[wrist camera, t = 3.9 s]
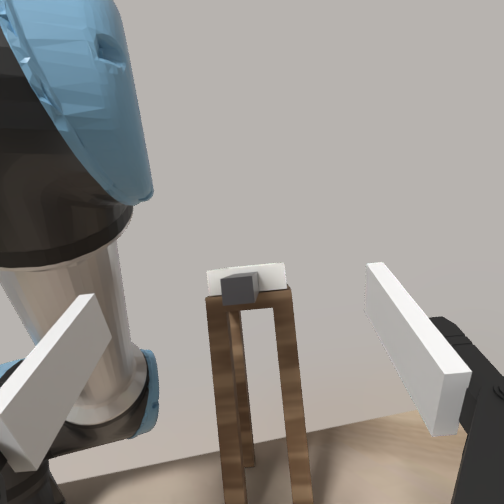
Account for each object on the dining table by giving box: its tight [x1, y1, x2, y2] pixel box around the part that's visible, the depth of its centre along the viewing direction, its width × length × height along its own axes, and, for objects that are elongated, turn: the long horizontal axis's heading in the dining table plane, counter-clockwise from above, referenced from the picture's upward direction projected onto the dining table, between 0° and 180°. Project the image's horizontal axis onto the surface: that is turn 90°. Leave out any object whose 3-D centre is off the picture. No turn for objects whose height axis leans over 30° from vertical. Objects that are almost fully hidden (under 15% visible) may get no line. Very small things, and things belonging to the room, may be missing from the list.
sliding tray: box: [207, 262, 287, 306], centre depth 43 cm, size 27×10×3 cm, turn 177°
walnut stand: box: [205, 284, 313, 504], centre depth 48 cm, size 16×11×30 cm
